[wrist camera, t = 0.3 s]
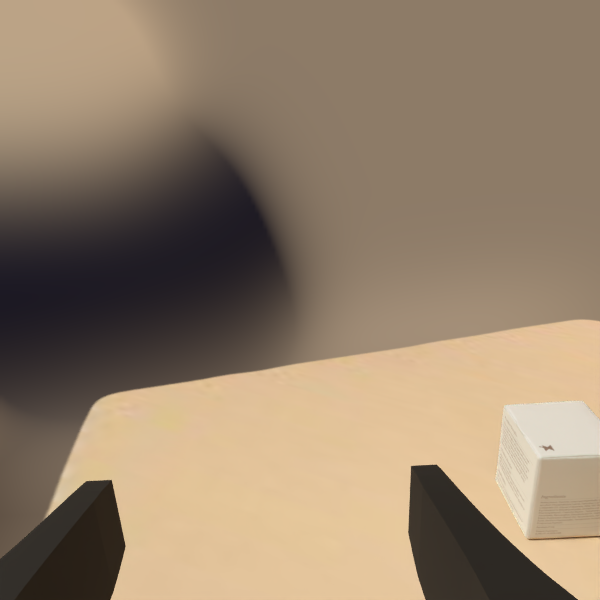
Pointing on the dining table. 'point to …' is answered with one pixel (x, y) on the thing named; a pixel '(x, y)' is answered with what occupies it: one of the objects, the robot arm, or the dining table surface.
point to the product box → (551, 468)
